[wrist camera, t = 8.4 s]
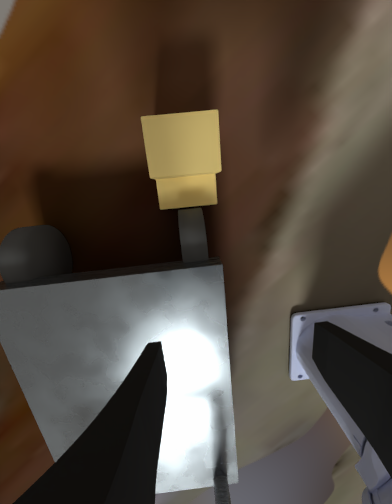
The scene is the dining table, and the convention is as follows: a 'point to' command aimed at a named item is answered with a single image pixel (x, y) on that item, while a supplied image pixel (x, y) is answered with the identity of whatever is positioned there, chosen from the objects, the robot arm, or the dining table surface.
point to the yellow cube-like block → (183, 157)
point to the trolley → (123, 346)
